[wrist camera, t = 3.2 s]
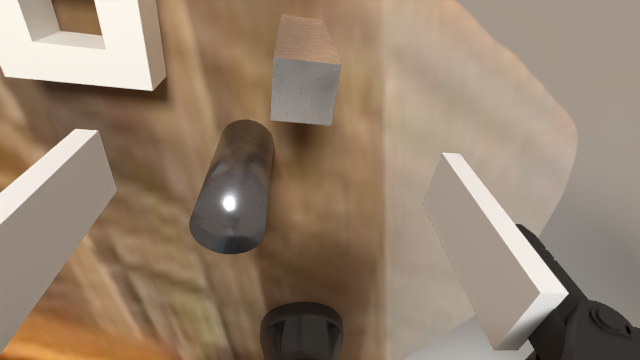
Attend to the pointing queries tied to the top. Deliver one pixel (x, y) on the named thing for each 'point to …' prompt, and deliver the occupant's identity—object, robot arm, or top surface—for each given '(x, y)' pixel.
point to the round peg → (235, 190)
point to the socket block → (83, 45)
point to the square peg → (304, 72)
